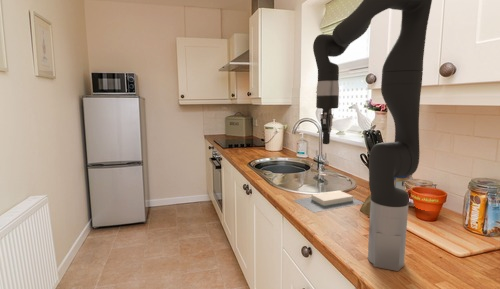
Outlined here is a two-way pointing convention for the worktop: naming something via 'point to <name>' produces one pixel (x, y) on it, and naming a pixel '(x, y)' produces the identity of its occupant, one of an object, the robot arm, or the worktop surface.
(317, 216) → the worktop surface
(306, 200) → the board
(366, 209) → the rock
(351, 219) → the worktop surface
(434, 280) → the worktop surface
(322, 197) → the tile
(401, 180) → the beverage bottle
